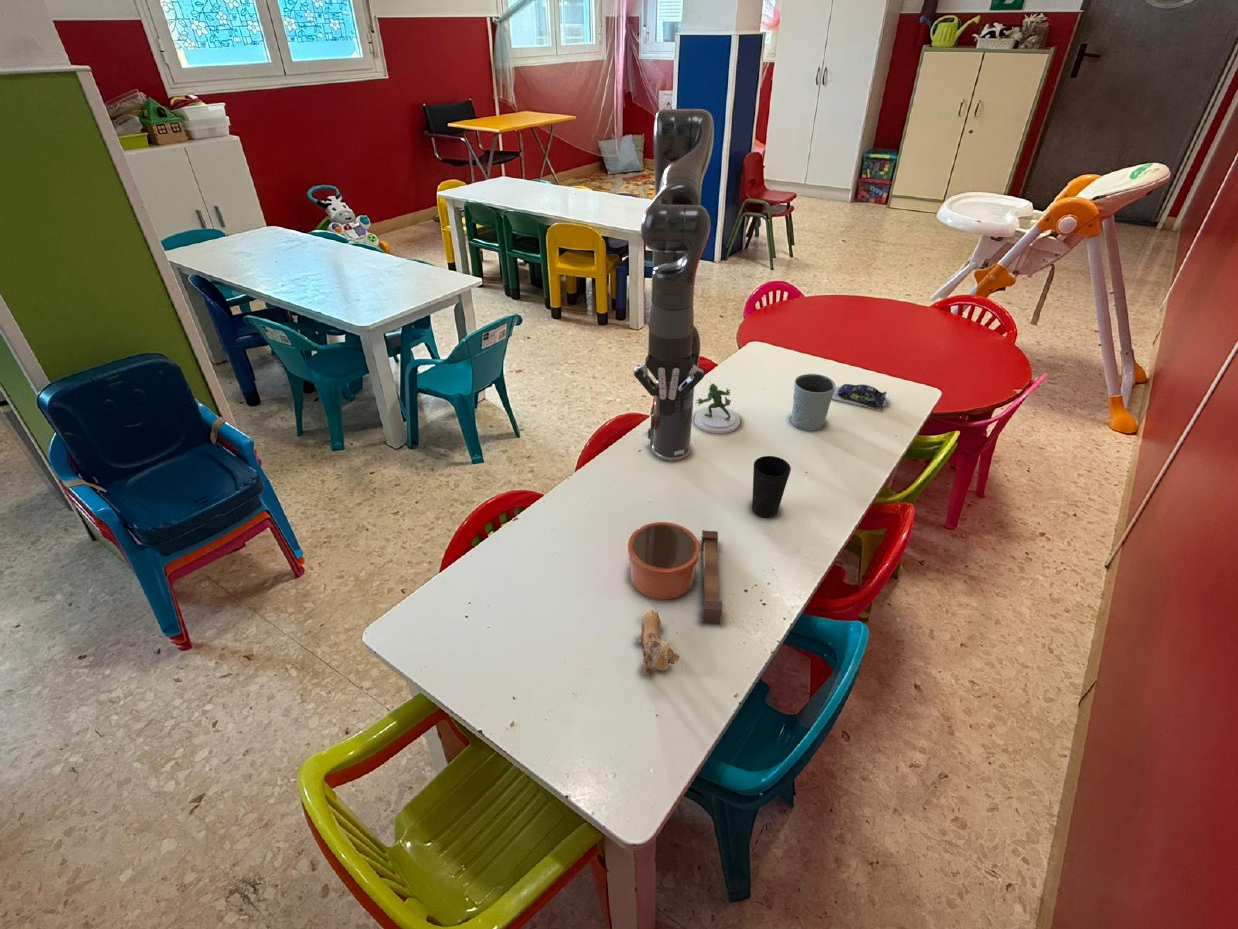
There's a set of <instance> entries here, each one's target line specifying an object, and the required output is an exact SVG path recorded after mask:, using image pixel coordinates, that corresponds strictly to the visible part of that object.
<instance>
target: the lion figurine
mask: <svg viewBox="0 0 1238 929" xmlns="http://www.w3.org/2000/svg"><path fill="white" fill-rule="evenodd" d="M643 615H644V616H643V617H642V618H641V620H642V621H641V626H640V627H641V628H640V629H641V633H640V637H639V639H638V641H637V644H638V645H639V646H644V647H643V650H642V656H643V663H644V669H643V674H644V675H646V676H649V675H651V671H652V670H658V671H662V672H664V671H666V670H668V668H669V665H670V664H671V665H675V664H676V663H677V662H678V661H679V660H680V658H681V656H680V655H679V654H678V653H675V652H674V649H673V648H671V646H670V642H669V641H668V640H666V641H663V640H662V635H661V632H660V627H661V625H662V624H661V622H662V620H661V618H660V615H659V613H658V612H656V611H654V610H653V609H651V610H649V611H648V612H645V614H643Z"/></svg>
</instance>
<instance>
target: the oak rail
mask: <svg viewBox="0 0 1238 929" xmlns="http://www.w3.org/2000/svg"><path fill="white" fill-rule="evenodd" d="M718 542H719V532H718V530H717V531H716V530H701V536H700V551H702V568H703V573H702V574H703V606H702V618H701V619H702V623H703V624H714V625H715V624H716V625H721V623H722V622H721V621H722V615H723V601H720V596H719V594H720V592H719V577H718V576H719V575H718V574H719V573H718V558H717V551H718Z"/></svg>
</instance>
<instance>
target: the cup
mask: <svg viewBox="0 0 1238 929" xmlns="http://www.w3.org/2000/svg"><path fill="white" fill-rule="evenodd" d="M791 468H792V467H791V464H790V463H789V462H788V461H786V460H785V459H783V458H781V457H778V456H775V455H774V456H773V455H764V456H761V457H758V458H756V459H755V460H754V462H753V473H752V474H753V476H752V500H751V505H752V506H751V510H752V512H753V514H755V515H756V516H758V517H760V518H764V519H770V518H773V517H776V516H777V514H778V511H779V509H780V505H781V502H782V499H783V496H784V493H785V491H786V490H785V489H786V486H787V483H788V480H789V477H790V473H791V470H792V469H791Z"/></svg>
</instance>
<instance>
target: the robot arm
mask: <svg viewBox="0 0 1238 929" xmlns="http://www.w3.org/2000/svg"><path fill="white" fill-rule="evenodd" d="M714 126H715V124H714V119H713V115H712V114H711V112H709V111H708V110H706V109H702V108H701V109H700V108H688V109H687V108H665V109H664V108H663V109H660V110H658V111H657V113H656V115H655V118H654V123H653V136H652V138H653V172H654V174H653V175H654V176H653V177H654V198H653V199H652V201H651V202H650V203H649V204H648V206H647V207H646V210H645V211H644V214H643V216H642V219H641V224H640V235H641V236H640V237H641V239H642V242H643V244H644V245H645V246H646V247H647V249H648V250H650V251H652V274H651V292H650V308H649V315H648V317H649V318H648V326H647V327H648V345H647V346H648V347H647V348H648V351H647V352H648V353H647V355H646V357H645V359H644V361H645V362H643V363H642V364H636V365H635V366H634V371H633V376H634V377H635V378H636V379H637V381H638V382H639V383H640V384H641V385H642V387H643V388H644V389H645V390H646V391H647V393H648V394H649V395H650V396H651V397H654V400H653V401H654V404H653V406H654V407H653V413H652V414H651V416H650V428H648V429H647V439H649V440H650V442H649V443H650V444H649V448H650V449H652V453H653V455H654V456H655V457H656V458H658V459H661V460H663V461H668V462H676V461H681V460H684V459H686V458H687V457H688V456H689V455H690V452H691V437H692V423H693V408H694V396H695V394H694V393H695V388H696V386H698V384H699V383H700V382H701V381H702V380H703V379H704V375H705V374H704V368H703V367H702V366H699V363H700V354H701V338H700V333H699V331H698V329H697V327H696V326H695V324H694V319H695V314H694V312H695V311H694V297H695V285H696V276H697V270H698V267H699V263H700V260H701V258H702V256H703V252H704V250H705V247H706V245H707V241H708V240H709V235H710V231H711V217H710V215H709V213H708V210H707V209H706V208H705V207H704V206H703V205H701V198H702V186H703V181H704V178H705V174H706V172H707V170H708V167H709V163H710V160H711V157H712V153H713V147H714V136H715V135H714V134H715V127H714ZM649 373H651V375H652V376H653V378H655V382H654V380H653V379H652V378H651V377H650V375H649Z"/></svg>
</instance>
